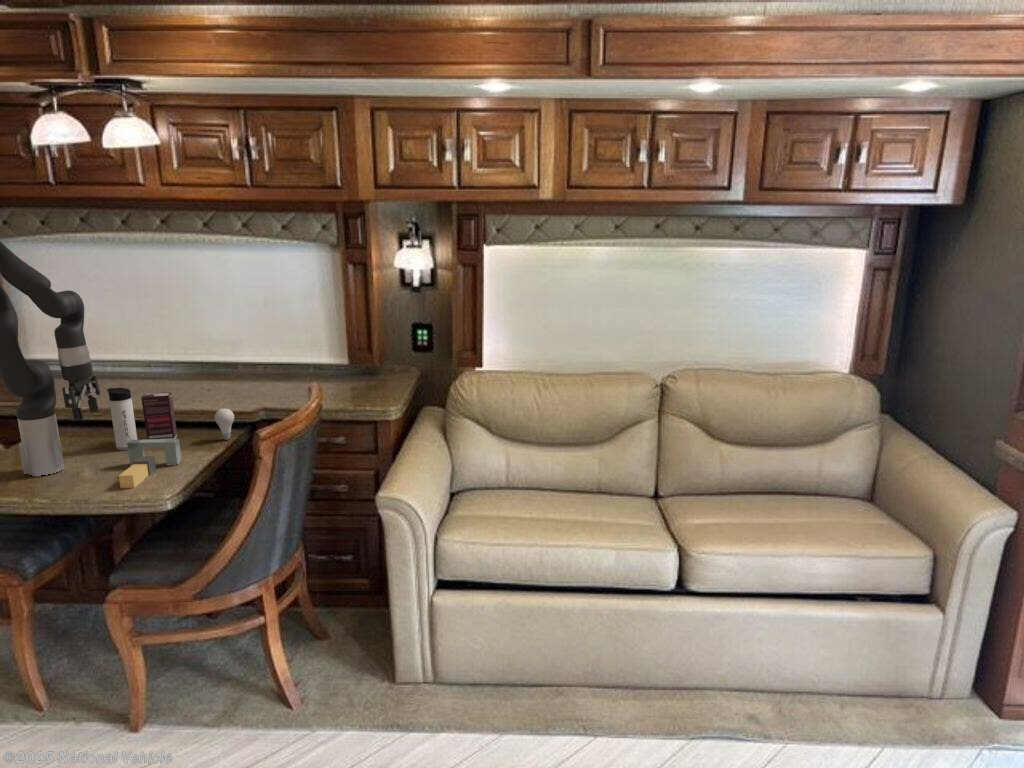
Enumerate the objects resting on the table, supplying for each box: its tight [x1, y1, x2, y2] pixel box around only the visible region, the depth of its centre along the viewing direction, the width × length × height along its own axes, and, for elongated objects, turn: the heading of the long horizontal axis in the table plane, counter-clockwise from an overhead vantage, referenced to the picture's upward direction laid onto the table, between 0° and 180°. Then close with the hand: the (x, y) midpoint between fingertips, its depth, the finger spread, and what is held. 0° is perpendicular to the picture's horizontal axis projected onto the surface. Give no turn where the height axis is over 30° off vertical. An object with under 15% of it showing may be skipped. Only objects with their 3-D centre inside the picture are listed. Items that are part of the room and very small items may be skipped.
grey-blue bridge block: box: [127, 438, 182, 467], centre depth 207 cm, size 14×3×8 cm, turn 94°
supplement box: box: [140, 391, 178, 440], centre depth 229 cm, size 9×5×16 cm, turn 105°
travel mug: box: [106, 387, 138, 451], centre depth 220 cm, size 6×7×20 cm
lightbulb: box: [214, 408, 235, 441], centre depth 229 cm, size 6×6×11 cm
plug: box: [118, 455, 157, 489], centre depth 197 cm, size 5×14×5 cm, turn 4°
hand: (86, 415), depth 197 cm, fingers open, 8 cm apart
